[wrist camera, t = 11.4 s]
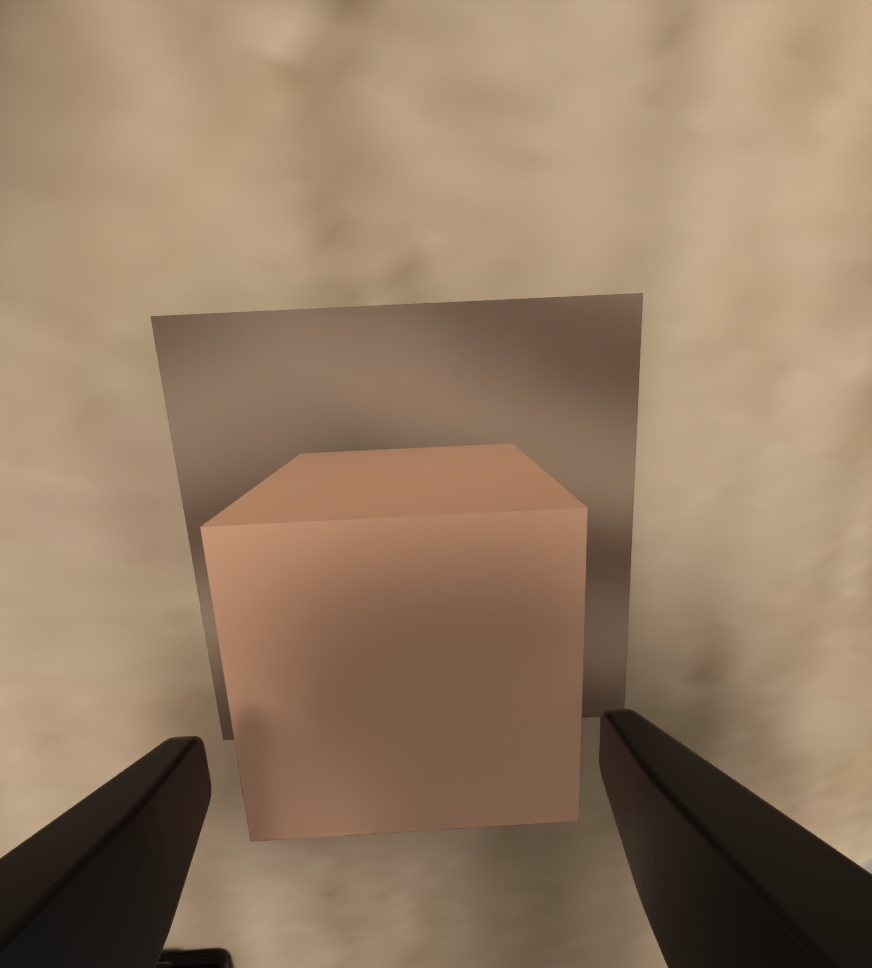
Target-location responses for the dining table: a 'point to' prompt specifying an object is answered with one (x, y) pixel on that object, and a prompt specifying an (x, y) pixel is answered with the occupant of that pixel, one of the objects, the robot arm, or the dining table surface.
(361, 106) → the dining table surface
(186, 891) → the dining table surface
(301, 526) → the salmon pink rectangular prism
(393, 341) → the board
